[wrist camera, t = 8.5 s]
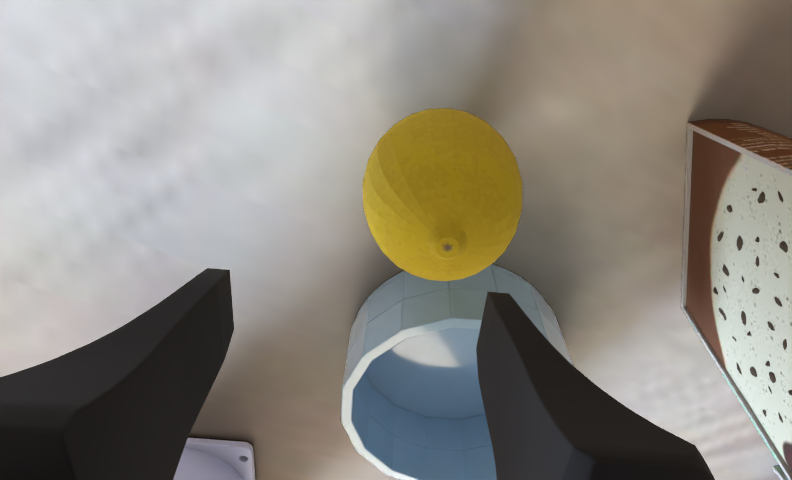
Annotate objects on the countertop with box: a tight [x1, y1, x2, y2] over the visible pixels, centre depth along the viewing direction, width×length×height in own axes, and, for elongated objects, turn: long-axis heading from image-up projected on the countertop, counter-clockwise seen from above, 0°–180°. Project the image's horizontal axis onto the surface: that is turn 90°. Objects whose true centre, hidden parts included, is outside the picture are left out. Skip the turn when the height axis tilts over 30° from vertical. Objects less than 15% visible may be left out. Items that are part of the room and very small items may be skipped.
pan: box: [341, 264, 574, 480], centre depth 26 cm, size 10×10×4 cm
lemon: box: [363, 108, 522, 281], centre depth 19 cm, size 6×6×8 cm
